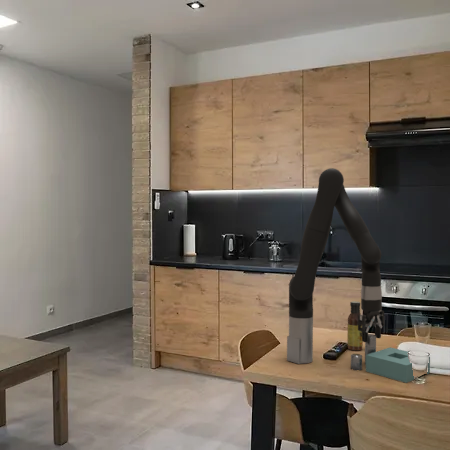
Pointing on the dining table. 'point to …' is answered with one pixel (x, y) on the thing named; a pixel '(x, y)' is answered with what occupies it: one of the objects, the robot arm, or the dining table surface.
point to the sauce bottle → (354, 328)
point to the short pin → (356, 361)
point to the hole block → (391, 364)
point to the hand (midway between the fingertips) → (371, 339)
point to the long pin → (370, 345)
